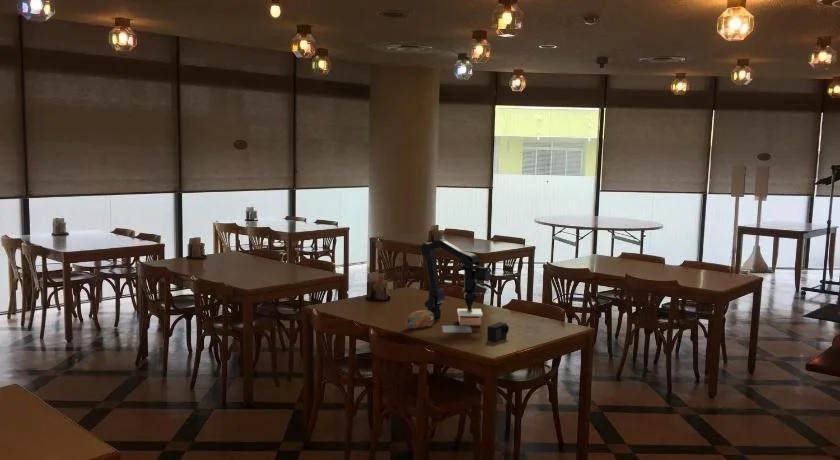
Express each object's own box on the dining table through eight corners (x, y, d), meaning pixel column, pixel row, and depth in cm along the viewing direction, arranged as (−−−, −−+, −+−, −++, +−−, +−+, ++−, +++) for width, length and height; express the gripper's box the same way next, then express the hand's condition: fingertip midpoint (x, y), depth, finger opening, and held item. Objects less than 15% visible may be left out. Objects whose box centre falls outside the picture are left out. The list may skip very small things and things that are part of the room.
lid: (458, 316, 354) (458, 306, 353) (457, 310, 366) (457, 300, 365) (482, 316, 354) (482, 306, 353) (480, 310, 366) (480, 301, 365)
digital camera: (497, 342, 325) (497, 327, 324) (487, 341, 328) (487, 326, 328) (508, 338, 333) (509, 323, 333) (498, 336, 337) (499, 321, 336)
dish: (459, 326, 355) (459, 318, 355) (458, 321, 366) (458, 313, 365) (480, 326, 355) (480, 318, 355) (479, 321, 366) (479, 313, 365)
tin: (407, 330, 348) (407, 313, 347) (404, 328, 351) (404, 311, 350) (434, 326, 355) (434, 309, 354) (431, 325, 357) (431, 308, 357)
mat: (442, 333, 342) (442, 332, 342) (442, 326, 355) (442, 325, 355) (472, 333, 342) (472, 332, 342) (470, 326, 355) (470, 325, 355)
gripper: (487, 282, 349) (487, 314, 350) (484, 276, 367) (483, 305, 369) (464, 282, 349) (464, 314, 351) (462, 275, 367) (462, 305, 369)
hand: (469, 309), depth 360 cm, fingers closed on lid, 3 cm apart
